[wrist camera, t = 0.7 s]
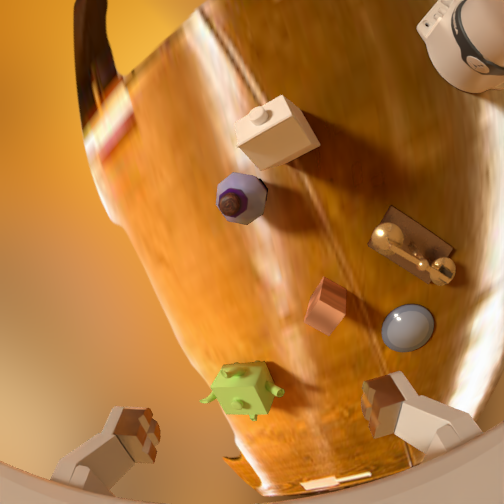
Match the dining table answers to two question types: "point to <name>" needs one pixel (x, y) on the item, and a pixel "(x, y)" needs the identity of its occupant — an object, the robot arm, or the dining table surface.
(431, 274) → the brass balance
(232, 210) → the potion bottle
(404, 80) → the dining table surface
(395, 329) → the gray dish
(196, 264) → the dining table surface
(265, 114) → the milk carton
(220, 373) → the kettle
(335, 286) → the terracotta block
